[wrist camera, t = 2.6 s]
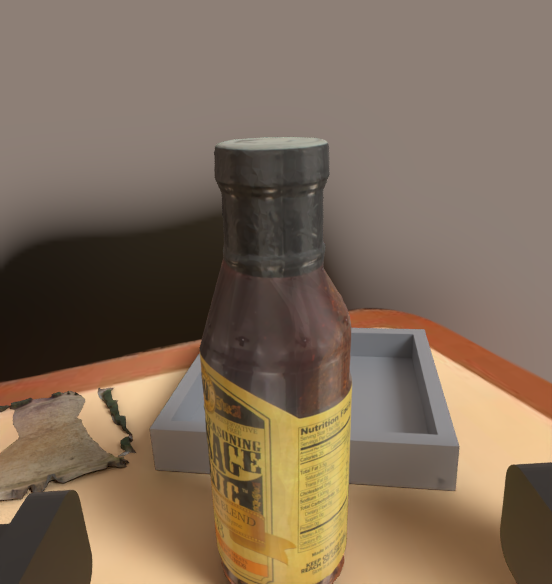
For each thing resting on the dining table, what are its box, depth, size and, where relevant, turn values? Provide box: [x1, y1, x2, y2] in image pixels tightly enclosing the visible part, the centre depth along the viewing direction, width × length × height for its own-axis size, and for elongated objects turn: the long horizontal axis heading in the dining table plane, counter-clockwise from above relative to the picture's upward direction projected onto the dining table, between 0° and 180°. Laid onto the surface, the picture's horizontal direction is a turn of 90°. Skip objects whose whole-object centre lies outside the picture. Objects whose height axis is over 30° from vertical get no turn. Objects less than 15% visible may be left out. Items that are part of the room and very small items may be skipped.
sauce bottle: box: [200, 137, 352, 584], centre depth 21 cm, size 7×6×20 cm
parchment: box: [0, 388, 136, 500], centre depth 35 cm, size 12×13×1 cm
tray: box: [150, 328, 459, 491], centre depth 37 cm, size 18×16×3 cm
